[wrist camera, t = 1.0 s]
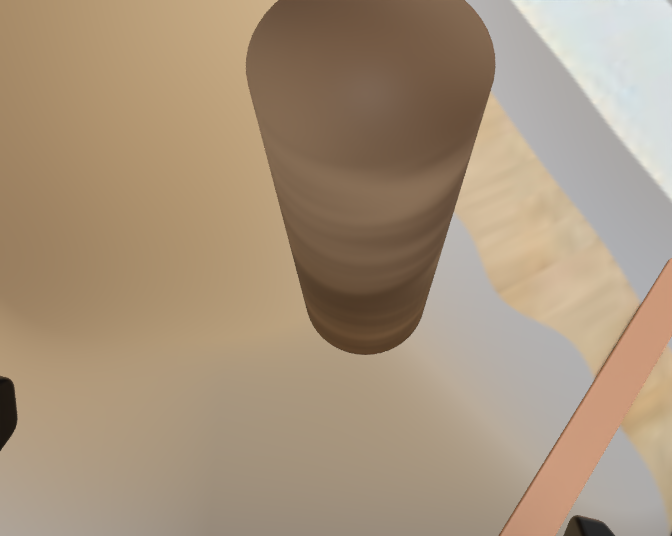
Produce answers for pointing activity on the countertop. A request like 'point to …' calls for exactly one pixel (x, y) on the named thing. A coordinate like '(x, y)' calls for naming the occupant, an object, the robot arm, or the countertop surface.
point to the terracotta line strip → (596, 417)
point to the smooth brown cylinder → (368, 149)
